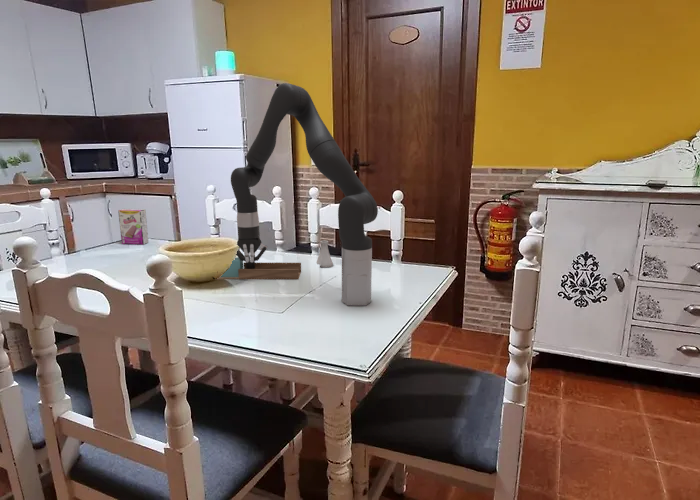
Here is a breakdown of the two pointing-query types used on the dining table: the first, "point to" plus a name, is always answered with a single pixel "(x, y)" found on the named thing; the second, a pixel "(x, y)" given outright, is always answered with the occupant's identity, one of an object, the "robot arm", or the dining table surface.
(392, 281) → the dining table surface
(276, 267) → the trap channel
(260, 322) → the dining table surface
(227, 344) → the dining table surface
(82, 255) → the dining table surface
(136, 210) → the candy bar box
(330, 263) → the flask
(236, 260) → the teal block
